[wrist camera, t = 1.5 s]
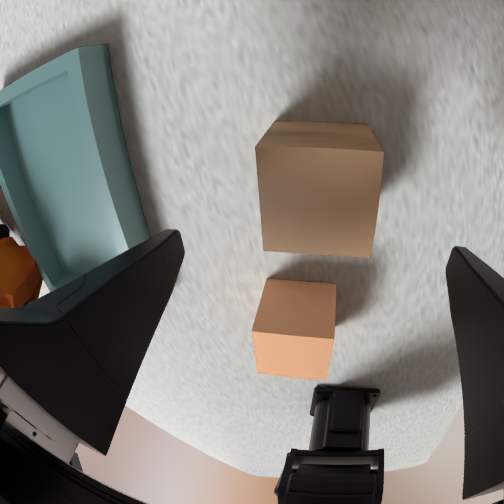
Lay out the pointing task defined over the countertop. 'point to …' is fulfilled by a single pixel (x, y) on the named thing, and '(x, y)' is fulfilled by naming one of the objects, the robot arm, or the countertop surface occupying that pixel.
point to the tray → (69, 166)
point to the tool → (17, 273)
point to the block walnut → (319, 187)
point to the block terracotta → (295, 329)
